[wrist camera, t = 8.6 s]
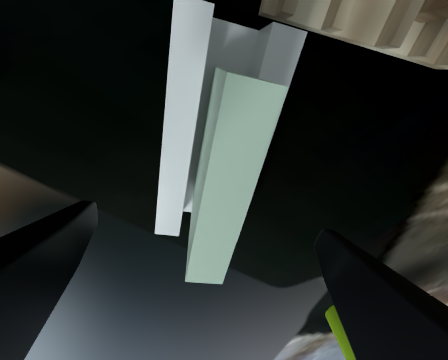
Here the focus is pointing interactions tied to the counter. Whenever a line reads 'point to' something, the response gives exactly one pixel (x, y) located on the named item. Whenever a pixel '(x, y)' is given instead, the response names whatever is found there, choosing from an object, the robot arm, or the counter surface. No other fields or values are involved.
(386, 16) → the birch rack
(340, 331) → the soap dispenser
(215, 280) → the green sheet
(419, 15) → the middle offcut
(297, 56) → the grey slotted stand
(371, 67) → the counter surface
